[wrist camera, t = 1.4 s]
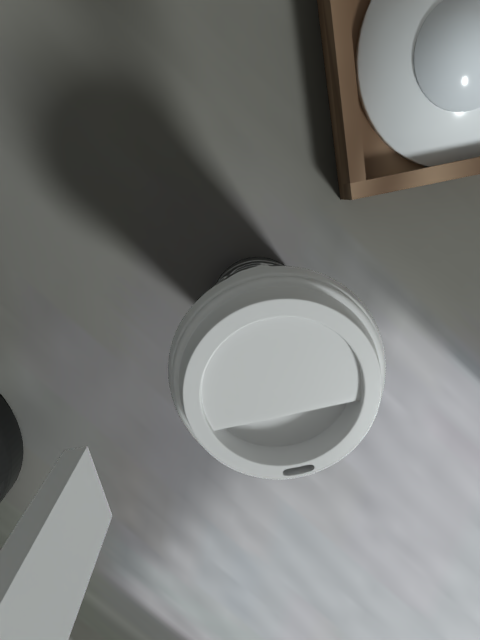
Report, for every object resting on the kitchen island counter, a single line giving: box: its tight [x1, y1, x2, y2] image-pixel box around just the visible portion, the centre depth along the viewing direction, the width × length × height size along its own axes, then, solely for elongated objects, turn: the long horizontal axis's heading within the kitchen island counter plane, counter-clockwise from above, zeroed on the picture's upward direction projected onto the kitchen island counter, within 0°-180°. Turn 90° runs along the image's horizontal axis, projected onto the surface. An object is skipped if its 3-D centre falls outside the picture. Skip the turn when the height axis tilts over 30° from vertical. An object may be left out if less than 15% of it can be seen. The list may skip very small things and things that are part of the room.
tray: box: [317, 0, 480, 200], centre depth 25 cm, size 16×14×3 cm
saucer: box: [355, 0, 480, 167], centre depth 25 cm, size 13×13×1 cm
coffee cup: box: [168, 257, 386, 479], centre depth 23 cm, size 10×10×15 cm
